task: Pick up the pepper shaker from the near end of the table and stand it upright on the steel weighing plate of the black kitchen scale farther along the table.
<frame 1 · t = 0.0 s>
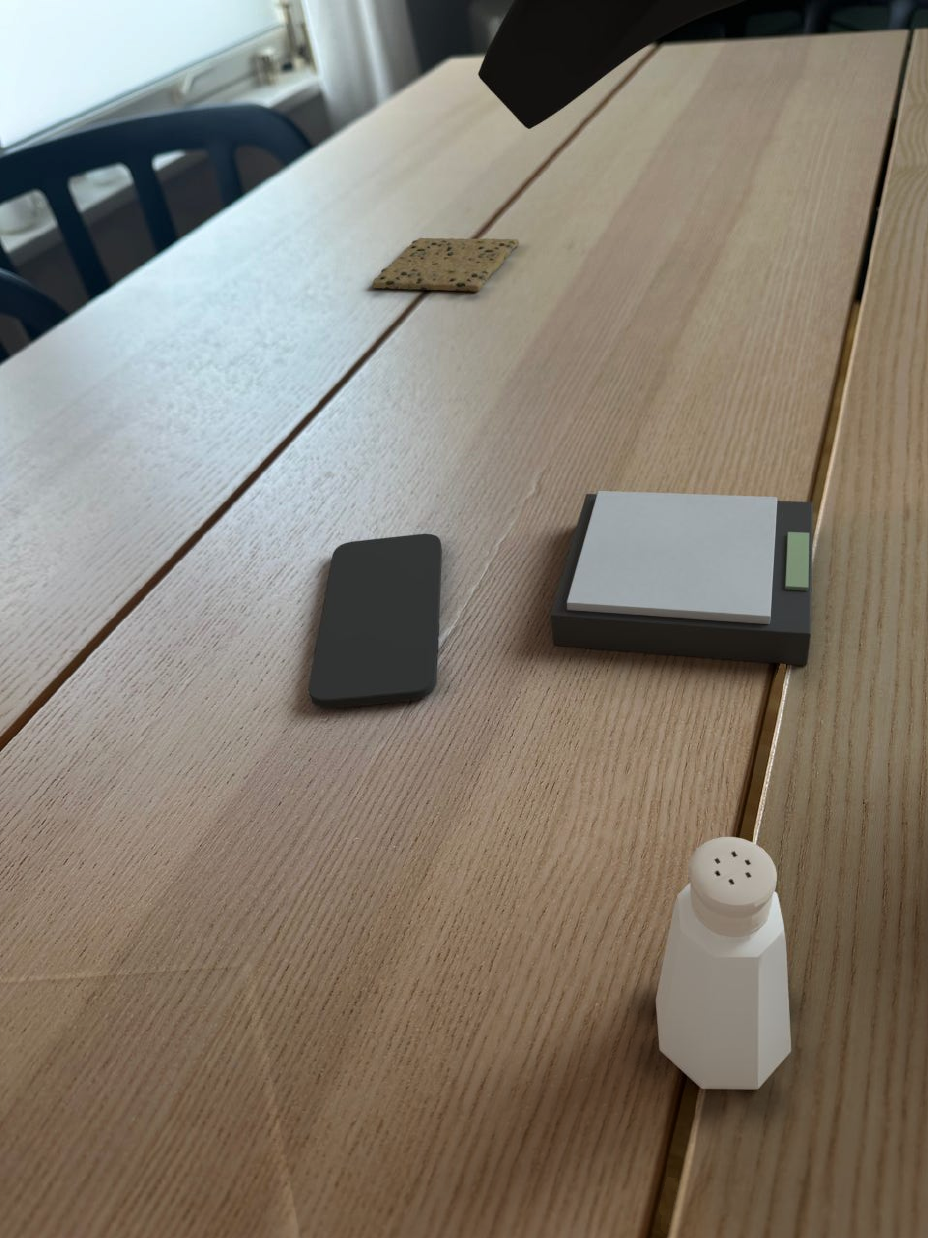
hand: (533, 63, 30), 32 cm above the table, tool tilted 50°, fingers open, 7 cm apart
phone: (382, 621, 61), on the table
cookie: (447, 266, 102), on the table
pepper shaker: (721, 1029, 39), on the table
scale: (686, 587, 59), on the table
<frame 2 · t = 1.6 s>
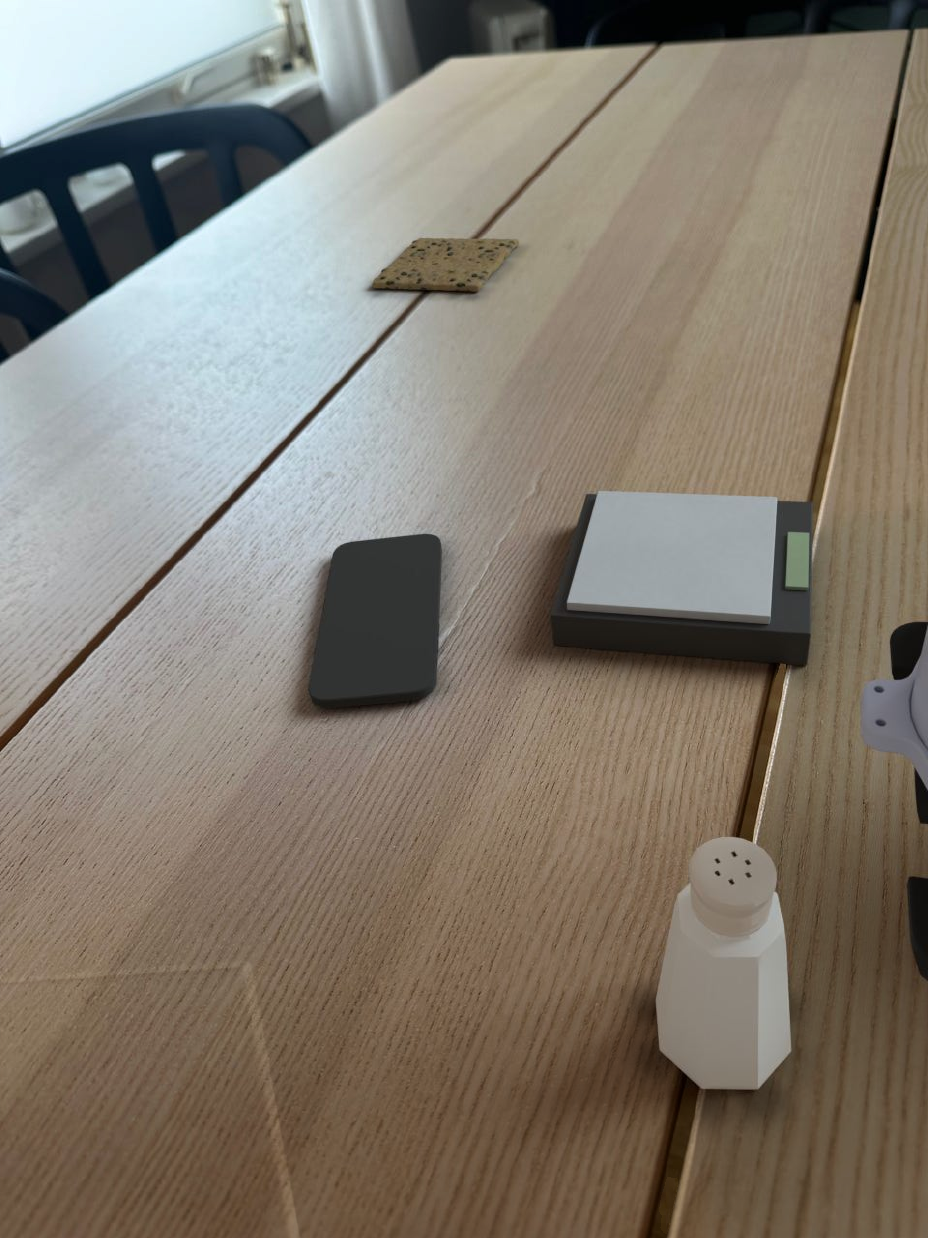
nothing on the table moved.
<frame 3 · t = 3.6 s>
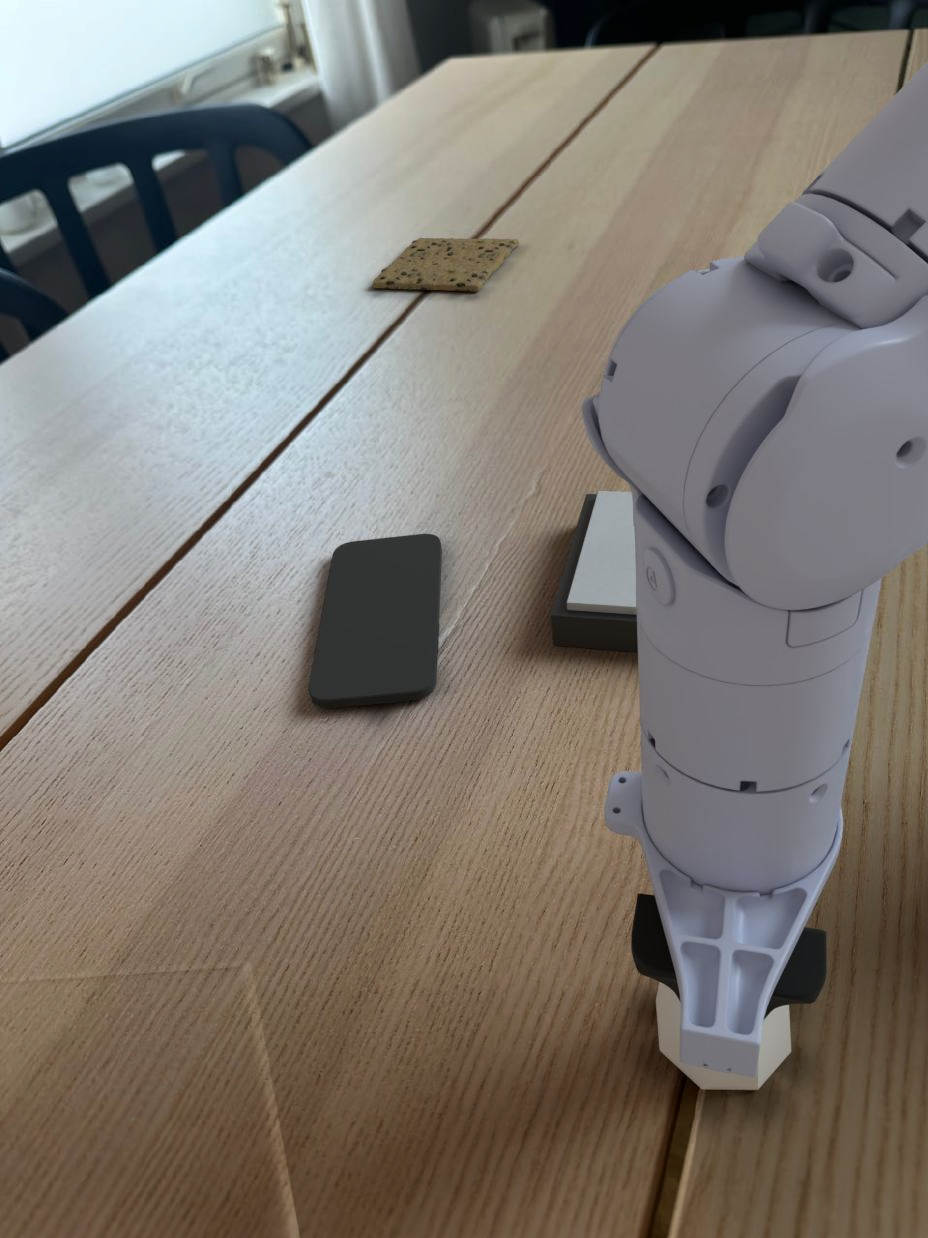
hand: (726, 963, 36), 5 cm above the table, tool pointing down, fingers closed on pepper shaker, 4 cm apart
pepper shaker: (721, 1029, 39), on the table, touching gripper
everything else where it was.
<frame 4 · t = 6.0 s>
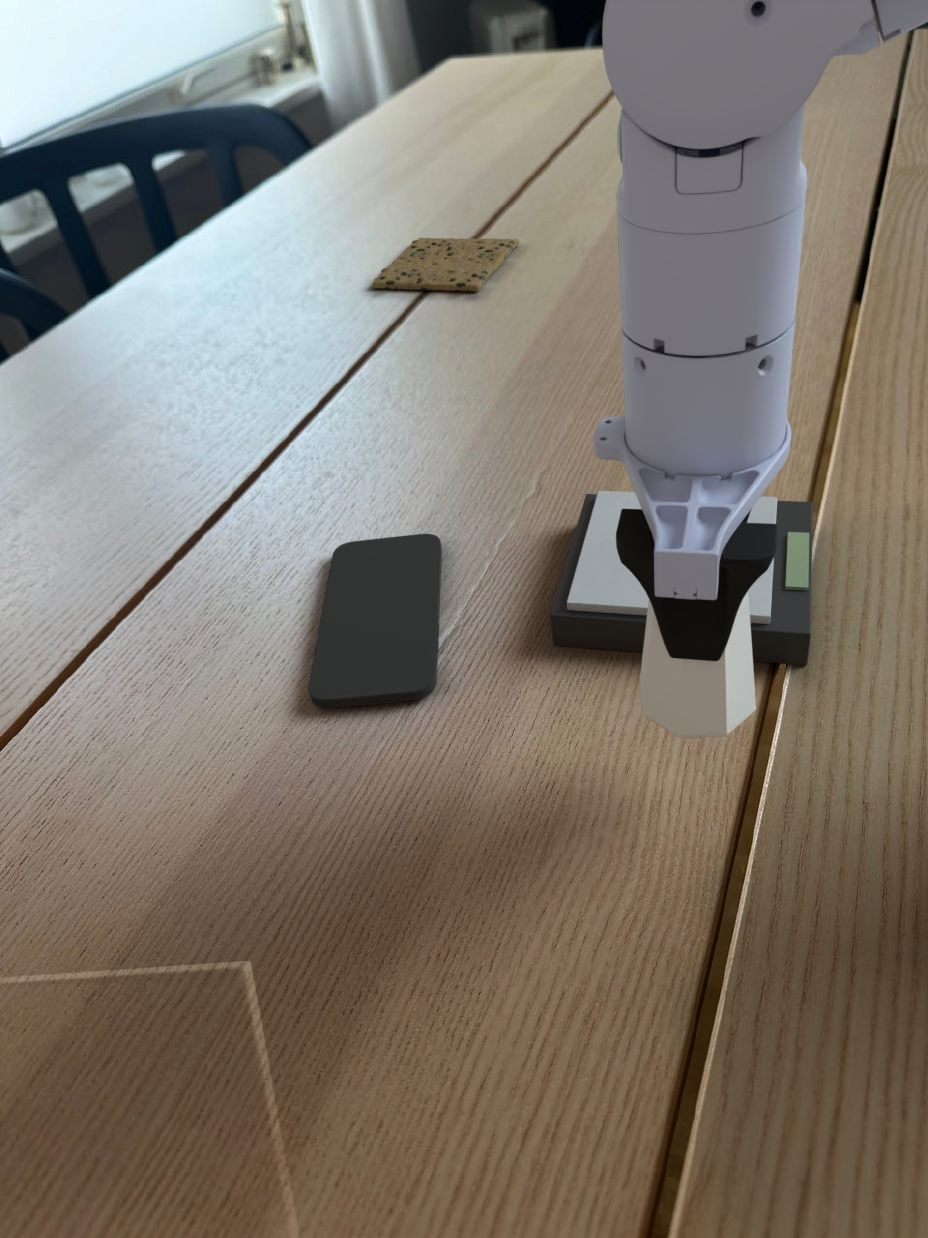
hand: (699, 618, 42), 10 cm above the table, tool pointing down, fingers closed on pepper shaker, 4 cm apart
pepper shaker: (696, 701, 45), point 5 cm above the table, touching gripper
everything else where it was.
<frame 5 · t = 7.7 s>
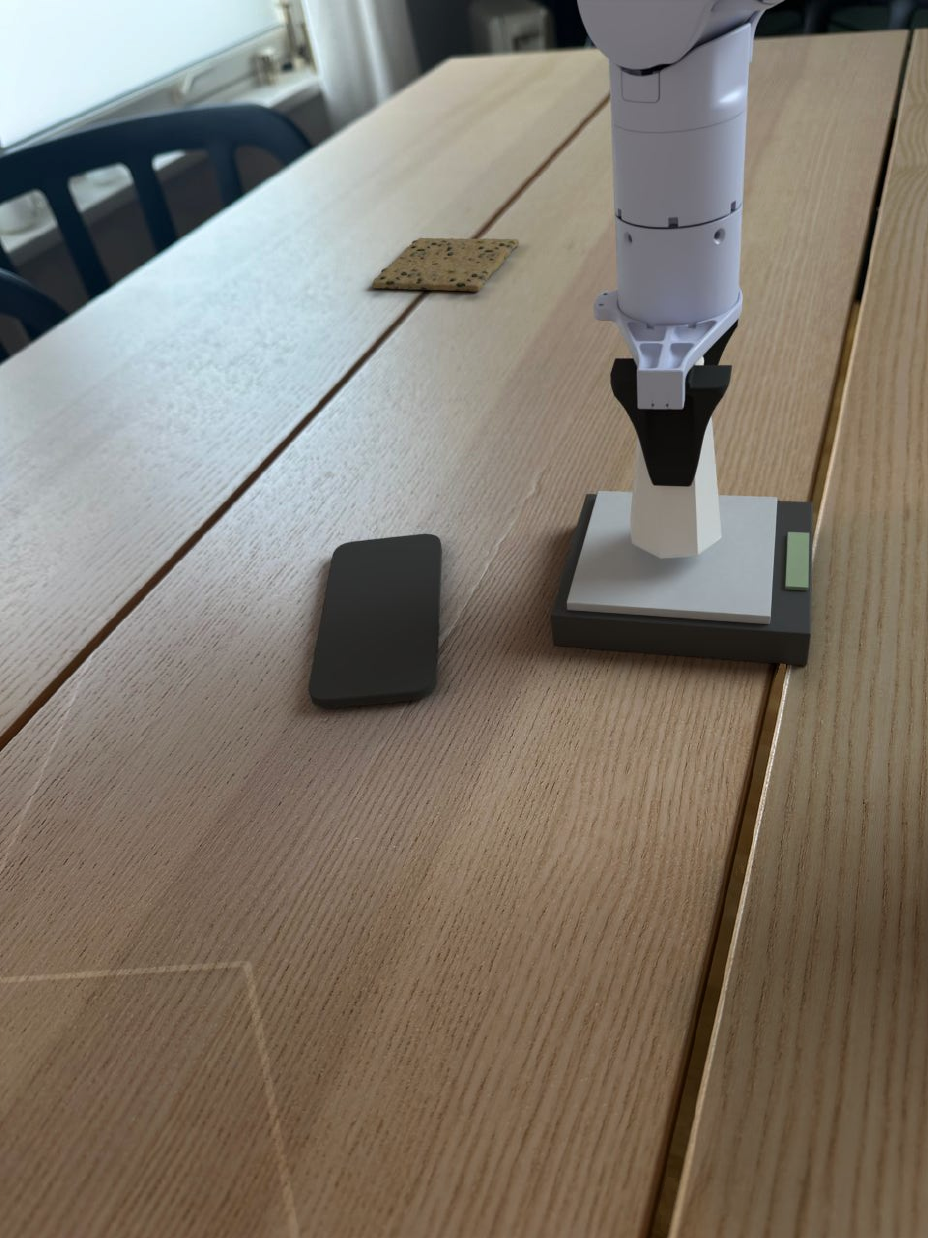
hand: (676, 459, 53), 9 cm above the table, tool pointing down, fingers closed on pepper shaker, 4 cm apart
pepper shaker: (674, 534, 57), point 4 cm above the table, touching gripper
everything else where it was.
when the fingers open (8 cm above the table, at t = 8.5 s): pepper shaker stays where it is, resting on scale.
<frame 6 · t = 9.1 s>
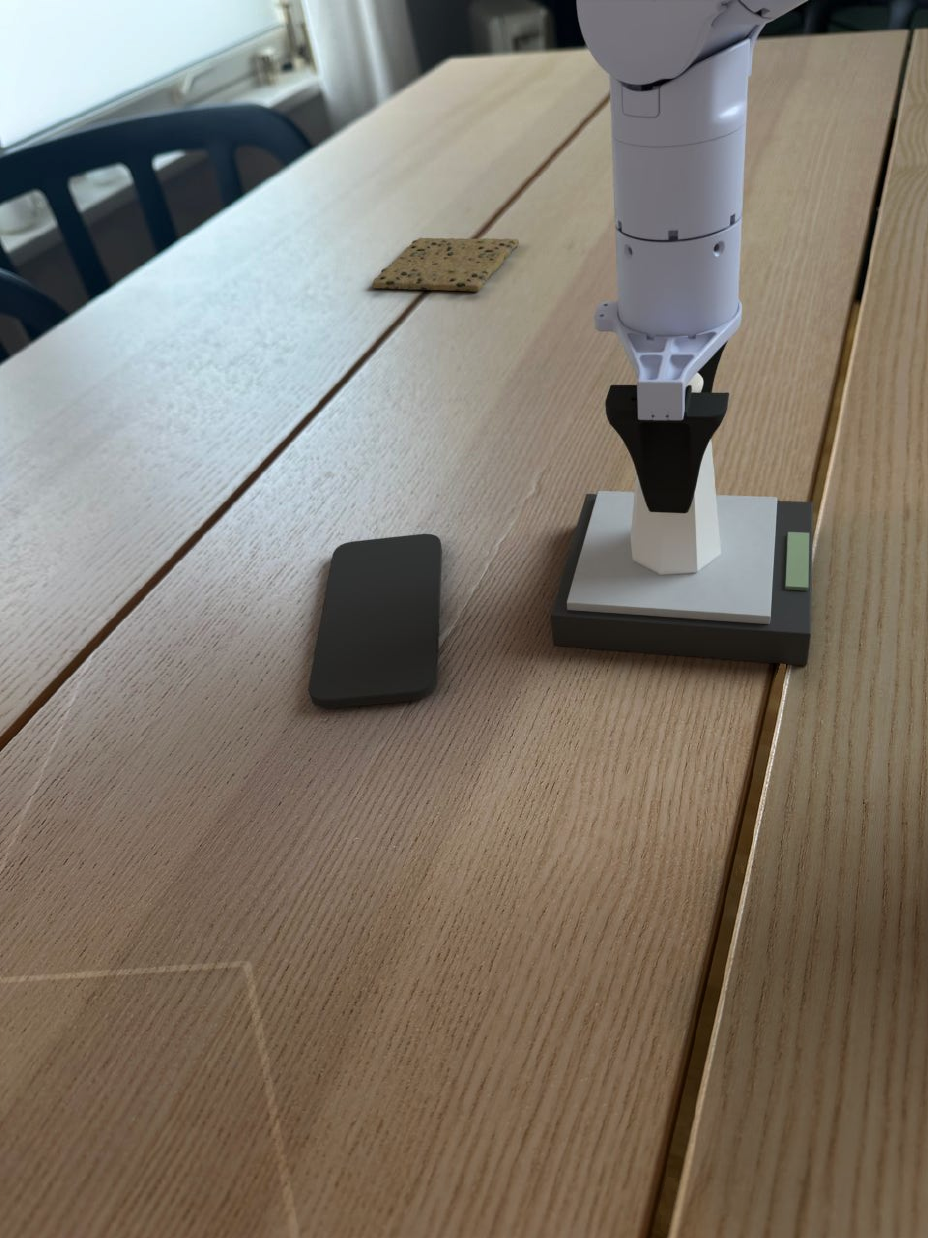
hand: (676, 467, 54), 9 cm above the table, tool pointing down, fingers open, 7 cm apart
pepper shaker: (674, 550, 58), point 3 cm above the table, touching scale
everything else where it was.
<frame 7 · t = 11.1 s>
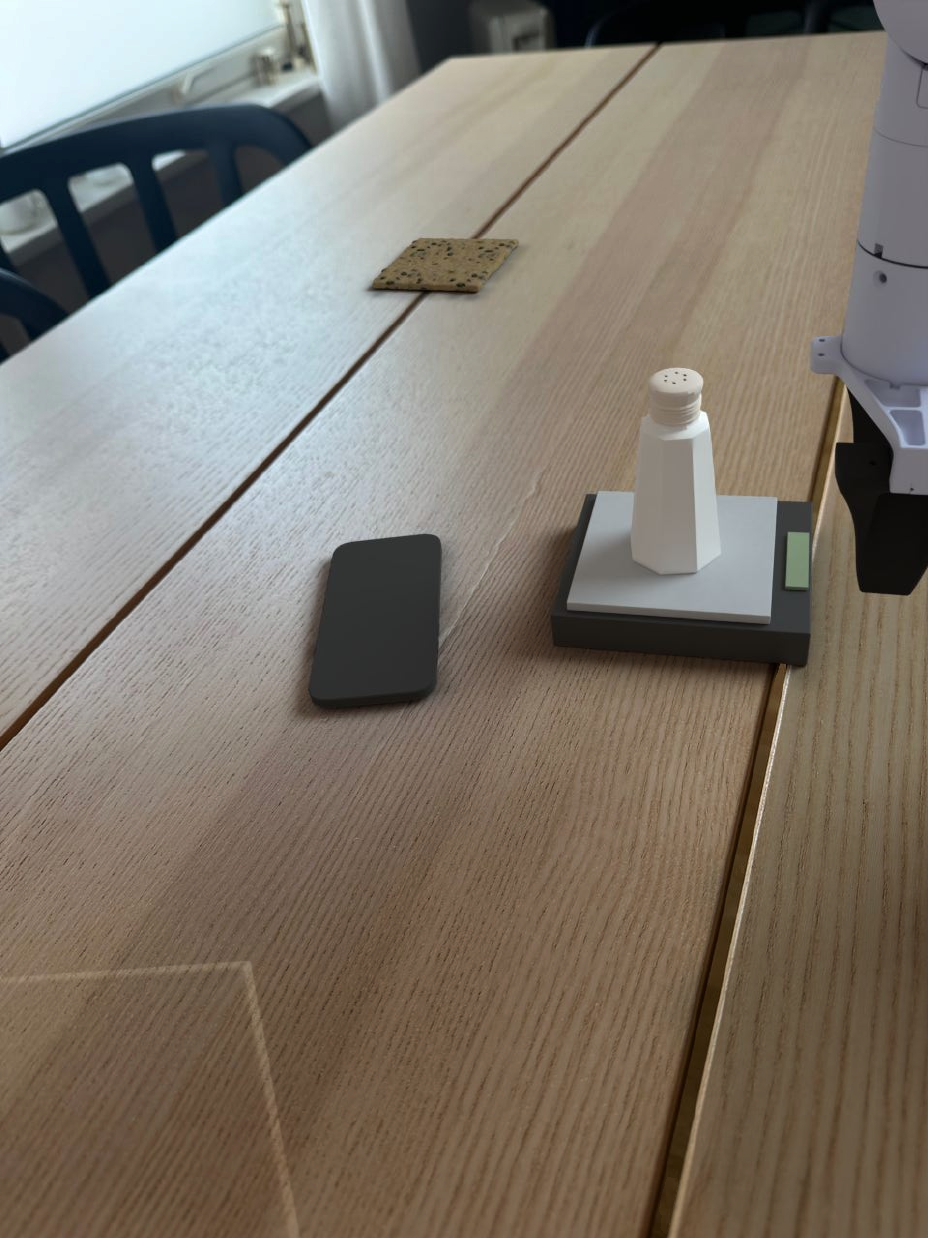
hand: (881, 534, 45), 10 cm above the table, tool pointing down, fingers open, 7 cm apart
nothing on the table moved.
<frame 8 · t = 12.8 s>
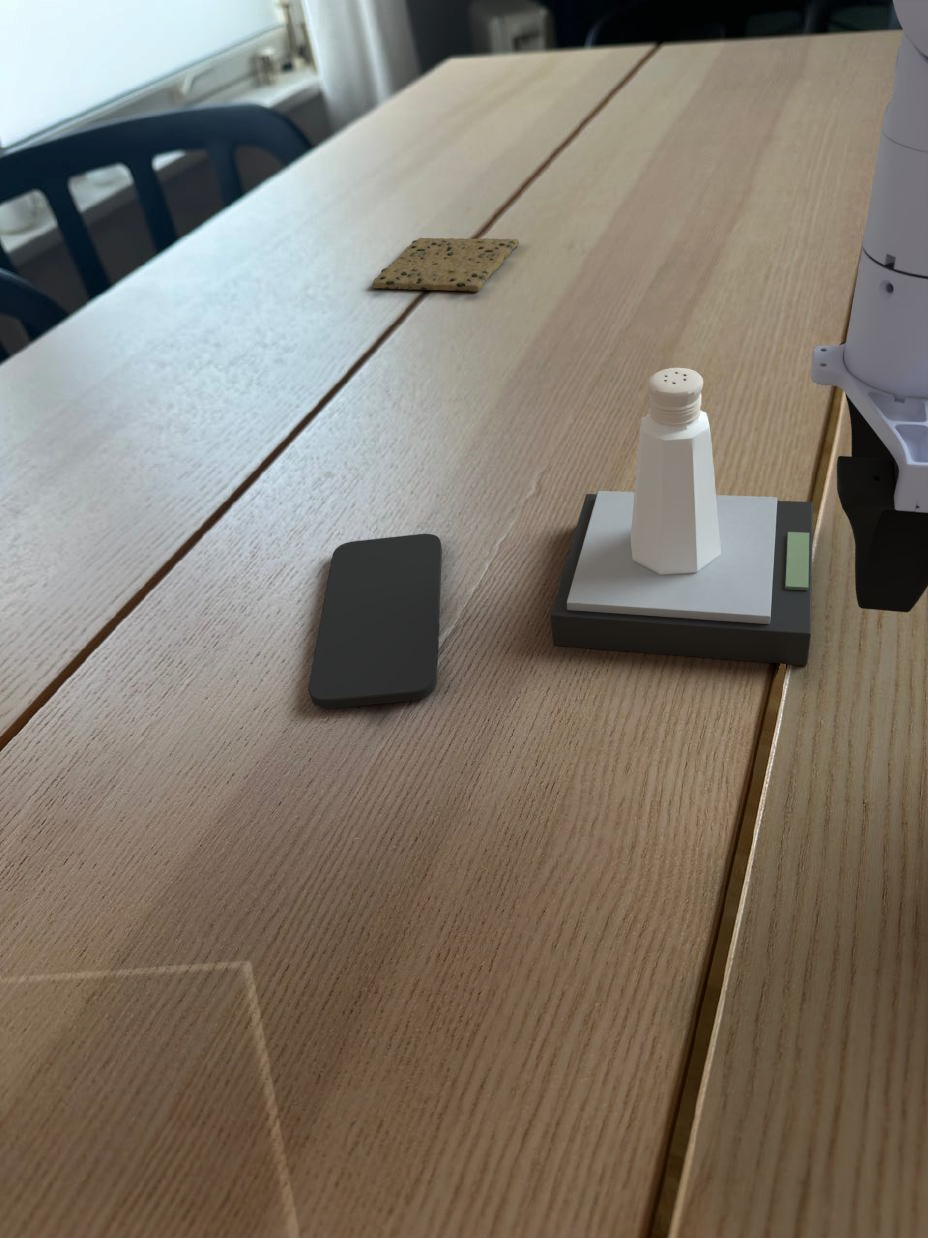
hand: (880, 548, 44), 10 cm above the table, tool pointing down, fingers open, 7 cm apart
nothing on the table moved.
at the end: pepper shaker inside the target area on the scale (0.1 cm from its centre), point 2.8 cm above the scale's base; pepper shaker tilted 0°; the gripper is holding nothing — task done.
